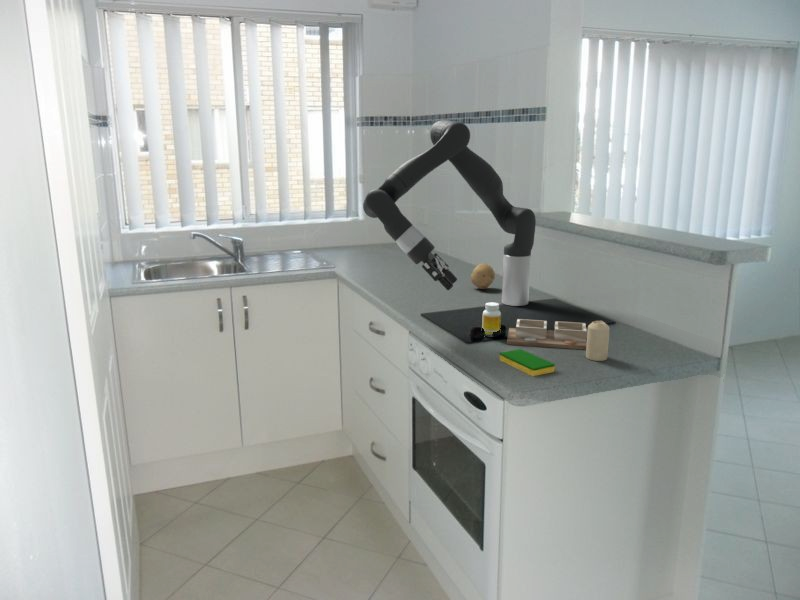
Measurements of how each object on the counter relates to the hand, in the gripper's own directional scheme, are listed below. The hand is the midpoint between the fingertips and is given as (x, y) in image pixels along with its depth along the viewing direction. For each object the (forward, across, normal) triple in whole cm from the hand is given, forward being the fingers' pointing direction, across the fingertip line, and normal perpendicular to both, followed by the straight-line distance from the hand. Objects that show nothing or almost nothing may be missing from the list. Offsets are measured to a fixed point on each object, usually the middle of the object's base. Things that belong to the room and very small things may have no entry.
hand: (453, 284), depth 195 cm
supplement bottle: (+19, 0, +2) cm, 19 cm away
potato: (+13, +58, +8) cm, 60 cm away
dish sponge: (+27, -24, -5) cm, 36 cm away
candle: (+39, -14, -18) cm, 45 cm away
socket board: (+31, -1, -10) cm, 32 cm away
